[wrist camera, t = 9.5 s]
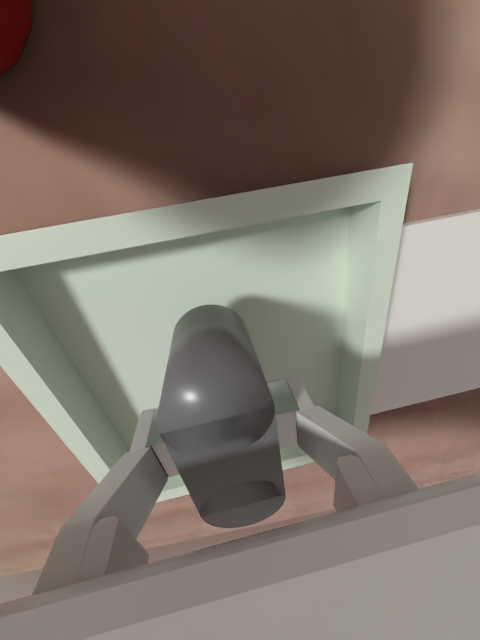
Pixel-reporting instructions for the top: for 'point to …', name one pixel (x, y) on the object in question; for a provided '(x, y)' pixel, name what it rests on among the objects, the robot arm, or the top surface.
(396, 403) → the mat
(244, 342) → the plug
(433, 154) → the top surface
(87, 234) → the tray
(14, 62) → the plastic cup
